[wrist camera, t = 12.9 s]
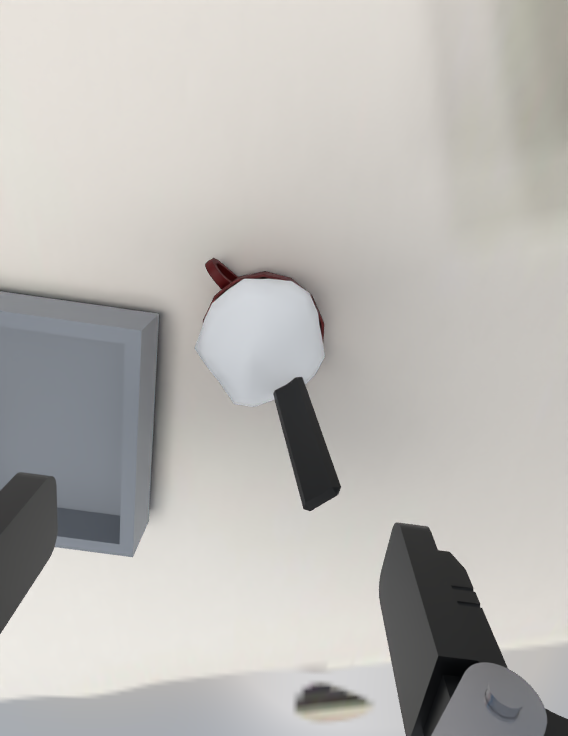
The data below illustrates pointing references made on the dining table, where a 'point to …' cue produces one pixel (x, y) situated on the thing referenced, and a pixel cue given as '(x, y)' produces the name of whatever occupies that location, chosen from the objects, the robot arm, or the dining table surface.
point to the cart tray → (81, 413)
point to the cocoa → (271, 363)
